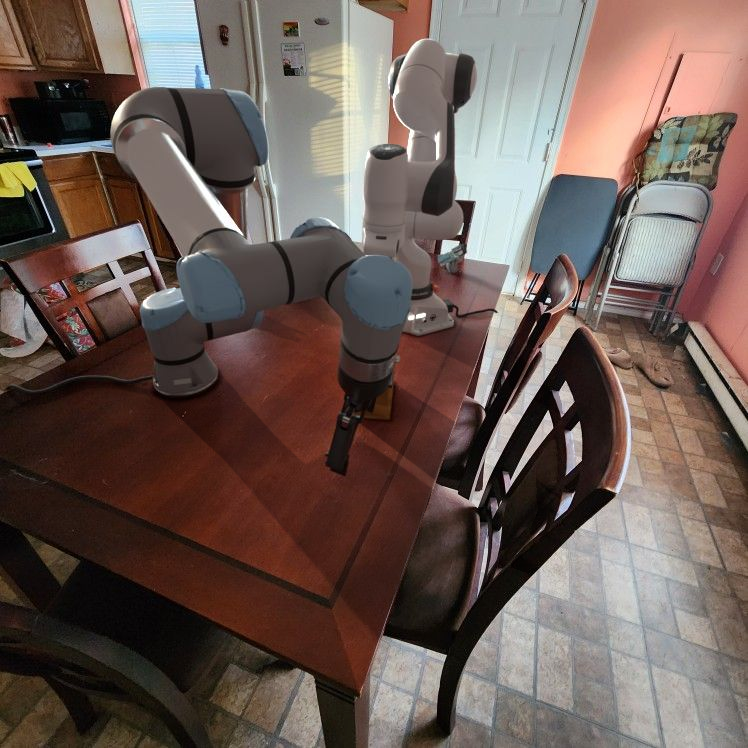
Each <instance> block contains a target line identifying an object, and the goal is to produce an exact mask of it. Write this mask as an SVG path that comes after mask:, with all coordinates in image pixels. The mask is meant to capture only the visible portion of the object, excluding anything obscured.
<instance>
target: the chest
mask: <svg viewBox="0 0 748 748" xmlns="http://www.w3.org/2000/svg"><path fill="white" fill-rule="evenodd" d="M395 373H396V366H395V367H394V376H393V385H392V388H387V390H386V391H385V392H384V393H383V394H382V395H381V396H379V397H377V399H376V403H375V408H374V411H373V413H371V412H368V411H366V414H365V417H364V419H372V420H382V421H390V420H391V412H392V402H393V395H394V385H395V375H396V374H395ZM361 412H362V411H361ZM361 412H358V413H355V412H354V414H355V415H357V416H360V415H361Z"/></svg>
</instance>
